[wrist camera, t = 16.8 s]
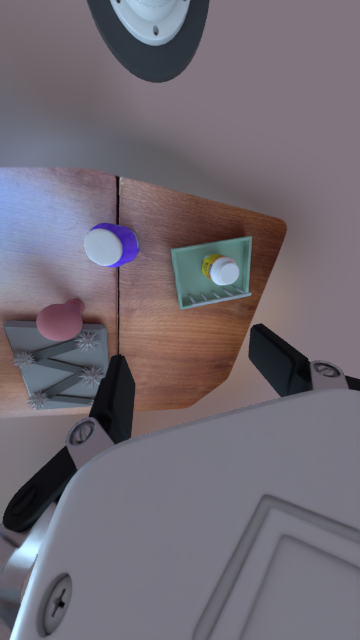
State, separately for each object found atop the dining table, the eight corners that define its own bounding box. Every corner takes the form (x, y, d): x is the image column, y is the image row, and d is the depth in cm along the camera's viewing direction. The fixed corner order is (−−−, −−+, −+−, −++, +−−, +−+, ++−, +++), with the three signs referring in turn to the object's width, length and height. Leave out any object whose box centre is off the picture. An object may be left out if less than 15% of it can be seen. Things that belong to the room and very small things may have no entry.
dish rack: (170, 248, 36) (175, 251, 30) (245, 236, 38) (265, 236, 31) (179, 305, 43) (184, 317, 36) (242, 292, 44) (258, 302, 38)
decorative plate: (6, 317, 37) (-23, 333, 30) (107, 321, 41) (100, 336, 35) (37, 404, 50) (21, 428, 43) (112, 400, 54) (107, 421, 48)
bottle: (137, 227, 33) (128, 217, 18) (142, 256, 36) (137, 270, 21) (100, 229, 32) (57, 221, 17) (108, 259, 35) (76, 275, 20)
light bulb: (97, 317, 40) (80, 345, 30) (67, 320, 39) (38, 351, 29) (88, 289, 37) (65, 310, 27) (55, 293, 36) (17, 316, 26)
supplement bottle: (197, 257, 37) (212, 263, 28) (219, 249, 37) (242, 253, 28) (202, 280, 40) (218, 292, 31) (223, 272, 40) (245, 283, 31)
